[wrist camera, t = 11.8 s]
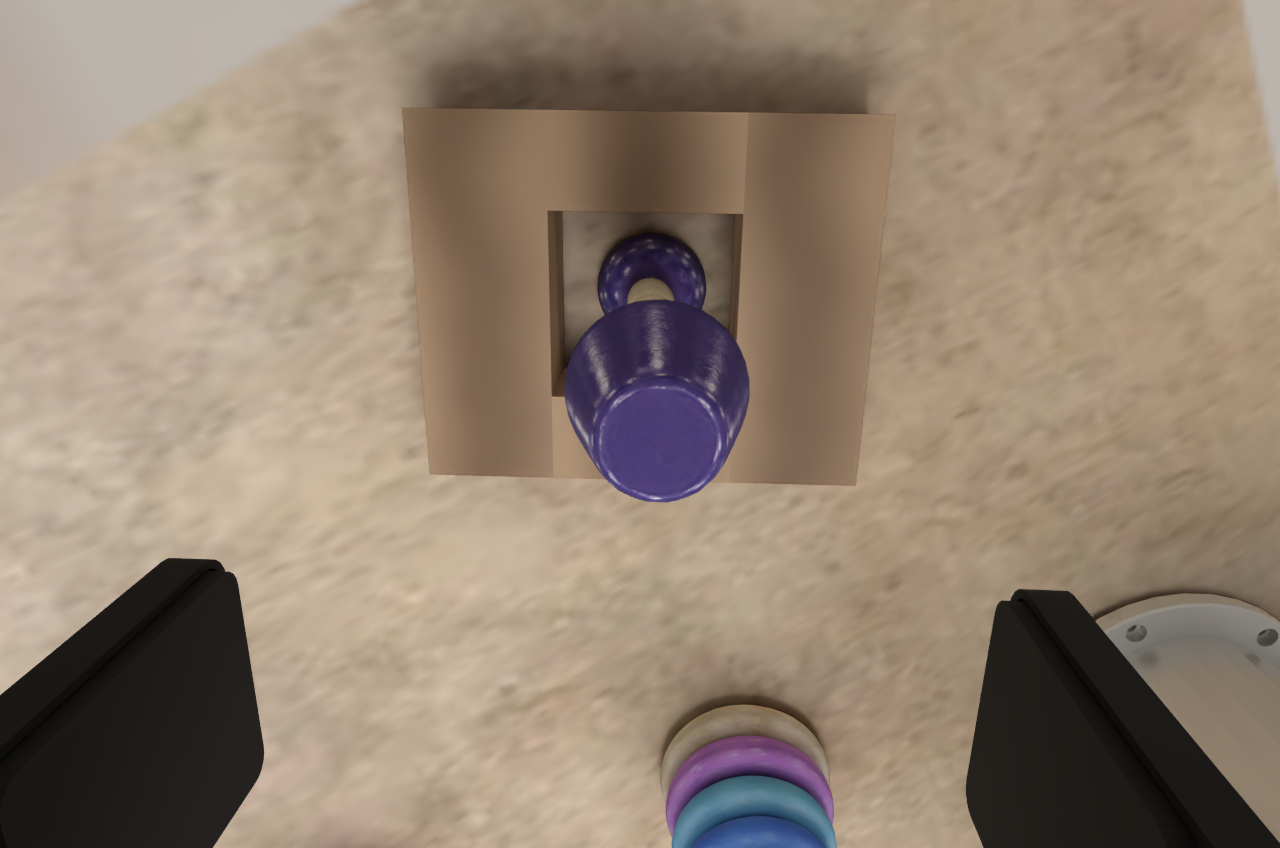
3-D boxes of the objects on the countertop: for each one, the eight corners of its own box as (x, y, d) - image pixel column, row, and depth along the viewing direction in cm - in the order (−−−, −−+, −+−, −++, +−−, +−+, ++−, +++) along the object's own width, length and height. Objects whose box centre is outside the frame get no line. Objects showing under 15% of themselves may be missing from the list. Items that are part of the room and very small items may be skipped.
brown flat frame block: (868, 115, 31) (895, 114, 28) (836, 447, 36) (856, 485, 32) (434, 109, 32) (402, 108, 28) (454, 437, 36) (429, 474, 32)
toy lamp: (709, 219, 33) (743, 314, 17) (730, 336, 34) (780, 522, 19) (587, 245, 33) (511, 361, 18) (613, 359, 35) (565, 559, 19)
